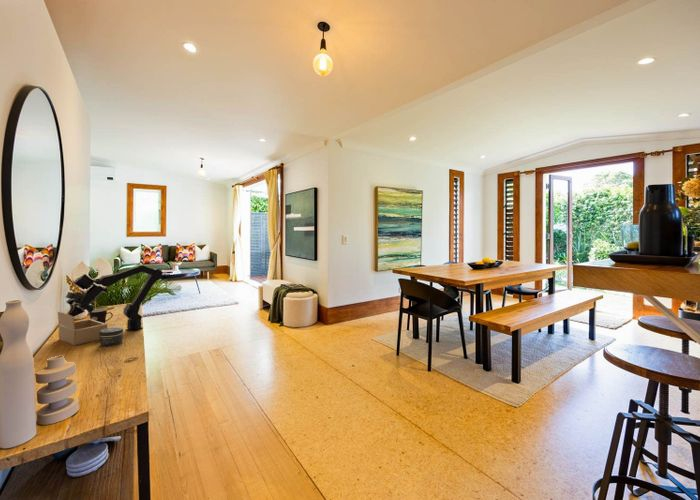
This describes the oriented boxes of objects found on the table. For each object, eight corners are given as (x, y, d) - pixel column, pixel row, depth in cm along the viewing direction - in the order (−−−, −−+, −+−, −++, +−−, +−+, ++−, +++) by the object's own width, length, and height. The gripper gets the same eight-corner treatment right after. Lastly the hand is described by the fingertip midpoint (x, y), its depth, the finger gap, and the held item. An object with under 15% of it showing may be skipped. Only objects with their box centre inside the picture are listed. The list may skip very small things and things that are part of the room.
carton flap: (59, 323, 167) (58, 311, 167) (74, 329, 159) (73, 316, 158) (58, 324, 167) (57, 311, 166) (73, 329, 159) (72, 316, 158)
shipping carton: (91, 332, 181) (91, 318, 180) (107, 338, 171) (107, 324, 171) (58, 339, 168) (58, 324, 167) (74, 346, 159) (74, 330, 158)
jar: (118, 346, 160) (118, 331, 160) (95, 348, 157) (95, 333, 157) (126, 340, 170) (126, 326, 169) (104, 341, 166) (104, 327, 166)
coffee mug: (85, 327, 189) (85, 311, 189) (100, 323, 198) (100, 308, 197) (99, 329, 186) (99, 313, 186) (114, 325, 194) (114, 310, 194)
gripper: (70, 284, 171) (43, 308, 162) (86, 287, 162) (58, 313, 153) (88, 296, 178) (63, 319, 169) (104, 300, 169) (79, 325, 160)
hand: (66, 319), depth 163 cm, fingers closed, pressing on carton flap
